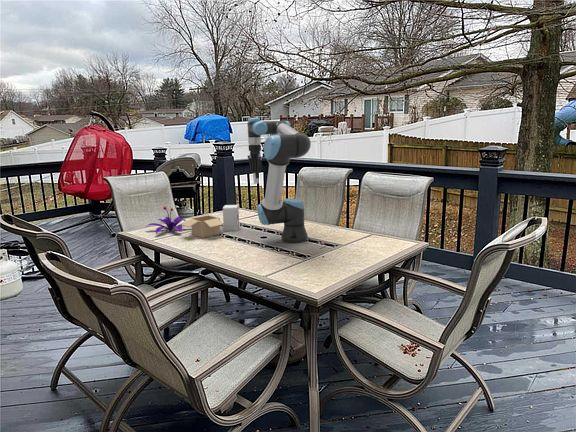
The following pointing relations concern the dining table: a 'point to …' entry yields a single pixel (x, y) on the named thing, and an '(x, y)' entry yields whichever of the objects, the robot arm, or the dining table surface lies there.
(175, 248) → the dining table surface
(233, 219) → the supplement box
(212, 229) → the carton
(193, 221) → the flap left
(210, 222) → the flap near
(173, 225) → the decorative flower
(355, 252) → the dining table surface
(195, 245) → the dining table surface
